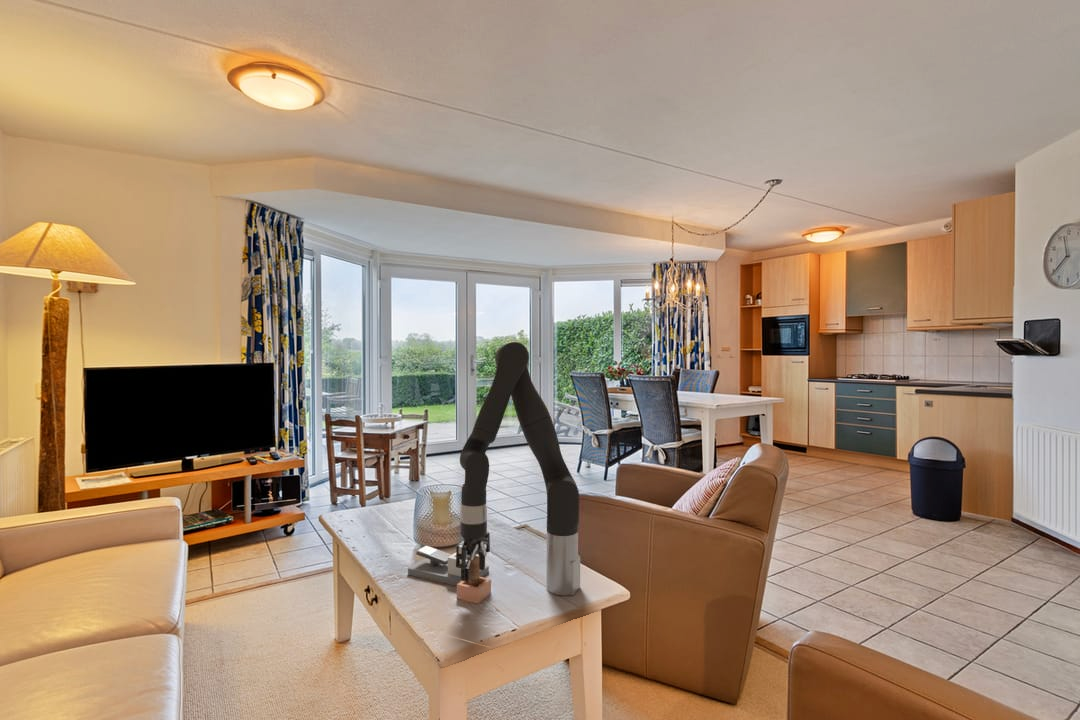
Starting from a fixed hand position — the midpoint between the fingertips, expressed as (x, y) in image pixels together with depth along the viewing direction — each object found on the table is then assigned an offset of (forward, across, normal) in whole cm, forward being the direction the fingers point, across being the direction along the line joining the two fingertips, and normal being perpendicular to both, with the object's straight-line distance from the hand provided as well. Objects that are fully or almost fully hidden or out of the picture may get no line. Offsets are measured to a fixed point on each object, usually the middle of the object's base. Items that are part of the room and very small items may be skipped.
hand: (473, 574), depth 150 cm
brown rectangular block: (+6, 0, 0) cm, 6 cm away
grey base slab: (+6, +9, +15) cm, 18 cm away
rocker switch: (+1, +9, +20) cm, 22 cm away
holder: (+6, 0, 0) cm, 6 cm away
